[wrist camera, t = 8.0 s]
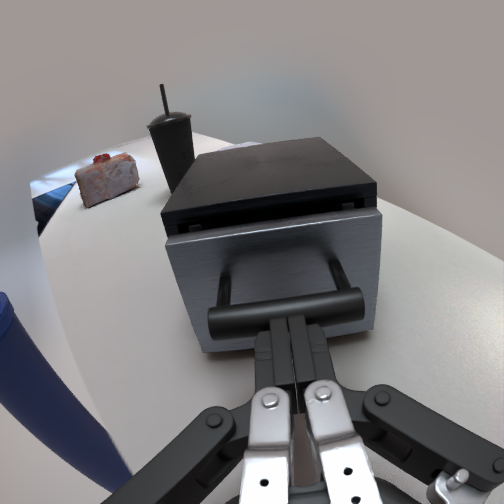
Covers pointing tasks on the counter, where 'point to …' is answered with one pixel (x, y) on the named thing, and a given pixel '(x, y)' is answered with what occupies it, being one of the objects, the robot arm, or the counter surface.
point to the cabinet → (265, 182)
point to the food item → (106, 178)
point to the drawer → (279, 271)
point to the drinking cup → (173, 143)
